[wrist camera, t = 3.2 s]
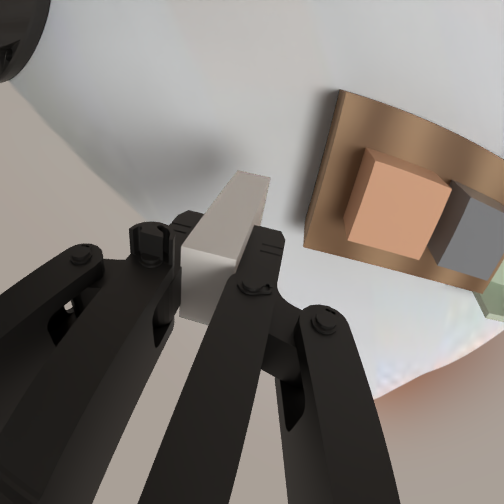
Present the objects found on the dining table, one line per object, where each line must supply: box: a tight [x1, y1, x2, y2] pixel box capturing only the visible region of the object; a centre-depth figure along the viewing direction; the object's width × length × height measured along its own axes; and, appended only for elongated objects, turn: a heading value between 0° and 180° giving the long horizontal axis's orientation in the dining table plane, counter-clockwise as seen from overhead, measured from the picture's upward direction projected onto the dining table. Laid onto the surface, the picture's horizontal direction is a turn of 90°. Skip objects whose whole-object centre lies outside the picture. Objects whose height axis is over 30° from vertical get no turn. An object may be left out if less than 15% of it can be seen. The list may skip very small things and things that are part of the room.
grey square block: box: [427, 180, 504, 281], centre depth 16 cm, size 5×5×3 cm
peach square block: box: [343, 148, 452, 260], centre depth 17 cm, size 5×5×3 cm
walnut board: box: [303, 90, 504, 294], centre depth 19 cm, size 17×11×4 cm, turn 80°
